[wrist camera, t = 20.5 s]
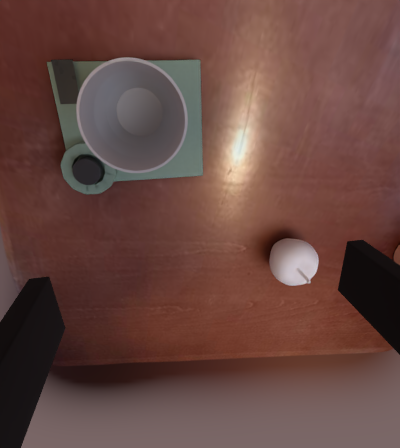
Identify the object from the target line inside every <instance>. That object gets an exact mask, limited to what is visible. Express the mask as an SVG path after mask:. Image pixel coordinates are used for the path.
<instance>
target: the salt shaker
mask: <svg viewBox="0 0 400 448" xmlns="http://www.w3.org/2000/svg"><path fill="white" fill-rule="evenodd" d="M394 262H396V263H397V264H399V265H400V245H399V246H398V247H397V249H396V251H395V253H394Z"/></svg>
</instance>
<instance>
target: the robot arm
mask: <svg viewBox="0 0 400 448" xmlns="http://www.w3.org/2000/svg"><path fill="white" fill-rule="evenodd" d="M338 291H339V292H340V293H341V294H342V295H343V296H344V297H345V298H346V299H347V300H348V301H349V302H350V303H351V304H352V305H353V306H354V307H355V308H356V309H357V310H358V311H359V313H360V314H361V315H362V316H363V317H364V318H365V319H366V320H367V321H368V322H369V323H370V324H371V325H372V326H373V327H374V328H375V329H376V330H377V331H378V332H379V333H380V334H381V335H382V337H383V338H384V339H385V340H386V341H387V342H388V343H389V344H390V345H391V346H392V347H393V348H394V349H395V350H396V351H397V352H398V353H399V354H400V265H399V264H397V263H396V262H394V261H393V260H391V259H390V258H388V257H387V256H386V255H384V254H383V253H381V252H380V251H378V250H377V249H375V248H374V247H372V246H371V245H369V244H368V243H367V242H365V241H364V240H357V241H348V242H347V246H346V251H345V256H344V261H343V267H342V272H341V277H340V282H339V287H338ZM64 330H65V326H64V322H63V319H62V316H61V313H60V310H59V307H58V303H57V300H56V297H55V294H54V291H53V287H52V284H51V281H50V278H49V277H42V278H33V279H29V280H28V281H27V283H26V284H25V286H24V287H23V289H22V290H21V292H20V293H19V295H18V297H17V298H16V299H15V301H14V303H13V304H12V305H11V307H10V308H9V310H8V311H7V313H6V315H5V316H4V318H3V319H2V320H1V322H0V448H21V446H22V443H23V440H24V437H25V435H26V432H27V429H28V427H29V424H30V421H31V418H32V416H33V413H34V411H35V408H36V405H37V402H38V400H39V397H40V394H41V392H42V389H43V386H44V384H45V381H46V378H47V376H48V373H49V370H50V367H51V365H52V362H53V360H54V357H55V354H56V351H57V349H58V346H59V343H60V341H61V338H62V335H63V333H64Z"/></svg>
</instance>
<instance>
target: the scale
mask: <svg viewBox="0 0 400 448" xmlns="http://www.w3.org/2000/svg"><path fill="white" fill-rule="evenodd" d="M105 62H107V61H81V62H73V63H74V69H75V74H76V80H77V85H78V90H79V92H80V89H81V87H82V85H83V83H84V81H85V80H86V78H87V77H88V76H89V74H90V73H91V72H92V71H93V70H94V69H96V68H97V67H98V66H100V65H101V64H103V63H105ZM148 62H150V63H152V64H154V65H156V66H158V67H159V68H161V69H162V70H163V71H165V72H166V73H167V74H168V75H169V76H170V77H171V78H172V79H173V81H174V82H175V83H176V85H177V86H178V88H179V89H180V91H181V93H182V95H183V98H184V101H185V104H186V108H187V115H188V125H187V132H186V136H185V139H184V142H183V144H182V146H181V148H180V150H179V151H178V153H177V154H176V155H175V156H174V157H173V159H171V160H170V161H169V162H168V163H167V164H165V165H164V166H162V167H160V168H158V169H156V170H153V171H150V172H145V173H128V172H123V171H120V170H117V169H114V168H112V167H110V166H108V165H107V164H105V163H104V162H102V161H101V160H100V159H99V158H97V157H96V156H95V155H94V154H93V152H92V151H91V150H90V149H89V147H88V146H87V145H86V143H85V141H84V139H83V137H82V135H81V133H80V130H79V127H78V122H77V115H76V106H77V104H60V100H59V95H58V90H57V86H56V81H55V76H54V71H53V67H52V62H47V66H48V70H49V75H50V80H51V84H52V89H53V93H54V98H55V102H56V107H57V112H58V116H59V121H60V125H61V130H62V134H63V139H64V143H65V148H66V152H65V153H64V156H63V159H62V161H61V169H62V174H63V178H64V179H65V180H66V181H67V183H68V184H69V185H70V186H71V187H72V188H73V189H74V190H77V191H79V192H81V193H84V194H100V193H102V192H104V191H105V190H107V189H108V188H110V187H111V185H112V183H113V181H128V180H143V179H158V178H174V177H189V176H203V158H202V115H201V72H200V60H148ZM85 156H90V157H93V158H95V159H97V160H98V161H99V162H100V163H101V165H102V168H103V173H102V176H101V177H100V179H99V180H98V182H96V183H95V184H93V185H84V184H81V183H79V182H78V181H77V180H76V179H75V177H74V176H73V172H72V169H73V165H74V164H75V162H77V161H78V160H79V159H80V158H82V157H85Z"/></svg>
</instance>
